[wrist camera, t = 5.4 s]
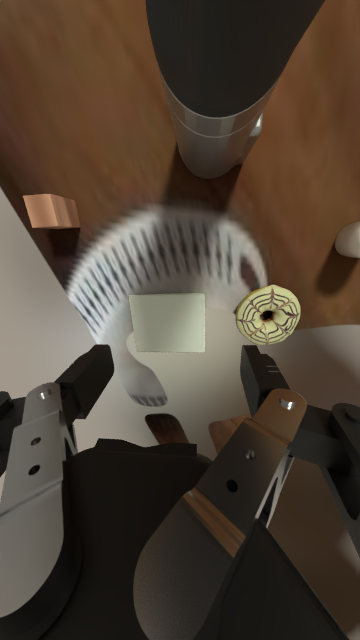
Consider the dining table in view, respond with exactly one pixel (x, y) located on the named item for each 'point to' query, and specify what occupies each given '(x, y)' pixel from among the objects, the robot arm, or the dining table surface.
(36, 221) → the terracotta block
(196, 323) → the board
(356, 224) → the white rounded cylinder
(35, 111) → the dining table surface
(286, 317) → the decorated donut
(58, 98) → the dining table surface
